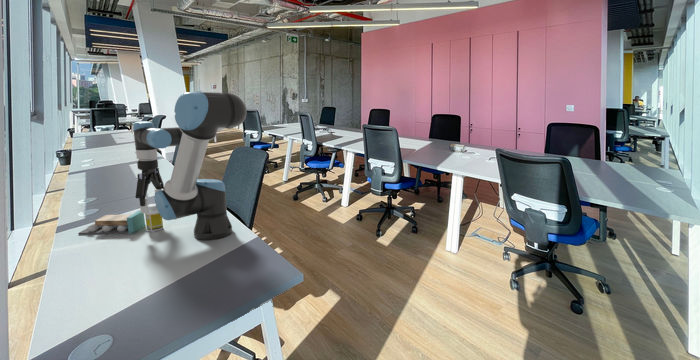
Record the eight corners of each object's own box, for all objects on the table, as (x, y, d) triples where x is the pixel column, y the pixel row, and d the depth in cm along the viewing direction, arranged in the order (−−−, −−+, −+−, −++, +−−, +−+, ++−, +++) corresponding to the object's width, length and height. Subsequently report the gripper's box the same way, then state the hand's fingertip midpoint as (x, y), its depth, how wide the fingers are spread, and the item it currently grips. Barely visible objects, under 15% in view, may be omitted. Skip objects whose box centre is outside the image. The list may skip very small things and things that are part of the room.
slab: (137, 218, 159) (136, 214, 159) (127, 224, 151) (127, 220, 151) (106, 219, 158) (106, 214, 158) (95, 225, 150) (94, 220, 150)
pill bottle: (165, 227, 160) (163, 202, 157) (159, 231, 154) (156, 207, 151) (151, 227, 160) (148, 202, 157) (144, 232, 153) (141, 207, 151)
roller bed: (145, 225, 161) (143, 210, 160) (133, 233, 151) (131, 217, 150) (93, 226, 159) (91, 211, 158) (78, 234, 150) (75, 218, 148)
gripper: (151, 154, 162) (156, 200, 167) (121, 164, 138) (127, 217, 142) (169, 154, 162) (173, 200, 167) (141, 164, 138) (147, 217, 143)
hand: (152, 208), depth 155 cm, fingers open, 13 cm apart
